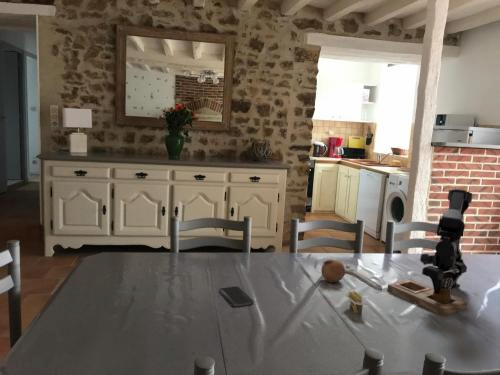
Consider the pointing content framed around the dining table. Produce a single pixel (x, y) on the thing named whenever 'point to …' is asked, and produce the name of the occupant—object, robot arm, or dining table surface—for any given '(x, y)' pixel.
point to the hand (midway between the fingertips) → (441, 292)
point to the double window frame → (425, 297)
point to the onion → (333, 270)
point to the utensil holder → (443, 295)
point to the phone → (236, 296)
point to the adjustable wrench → (362, 277)
